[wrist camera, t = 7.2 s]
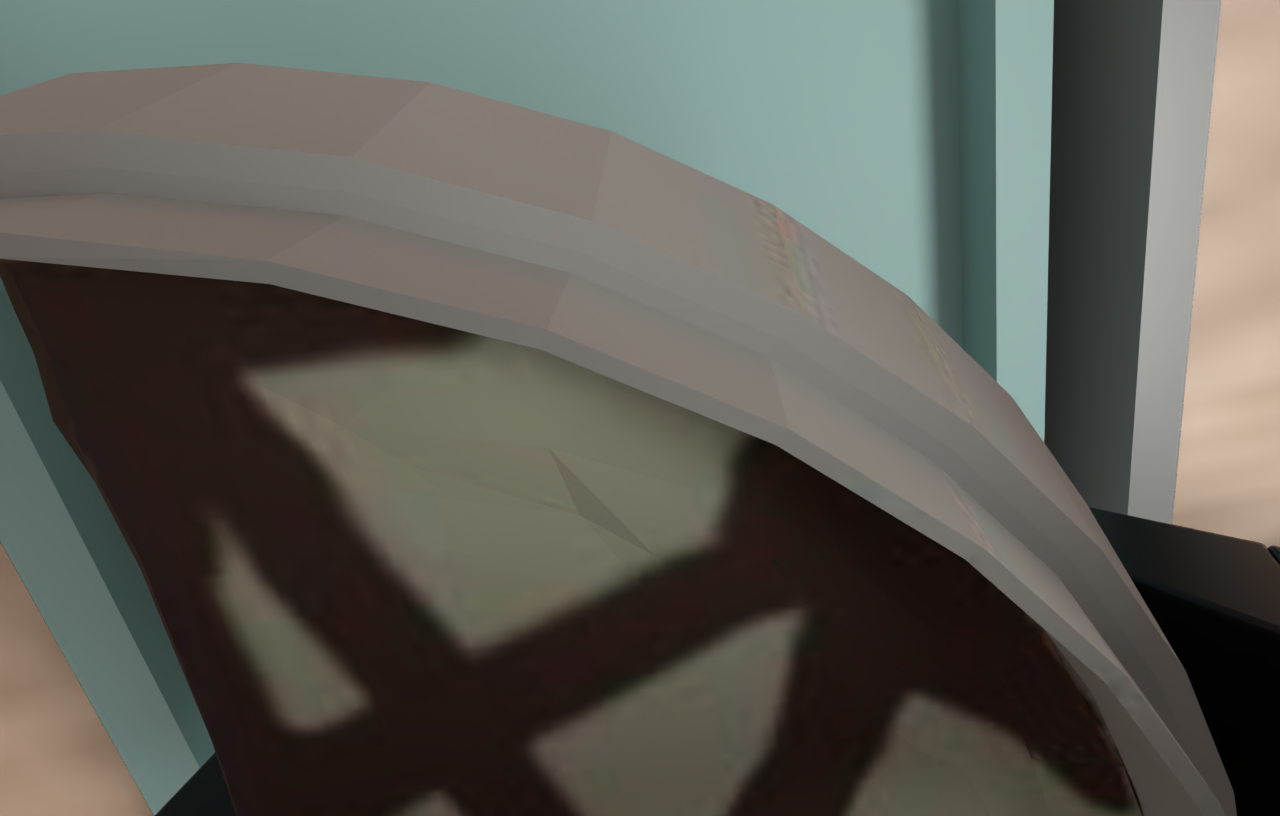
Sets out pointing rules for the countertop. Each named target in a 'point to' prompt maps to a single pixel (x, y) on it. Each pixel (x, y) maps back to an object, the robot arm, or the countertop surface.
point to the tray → (612, 100)
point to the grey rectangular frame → (1125, 241)
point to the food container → (559, 474)
